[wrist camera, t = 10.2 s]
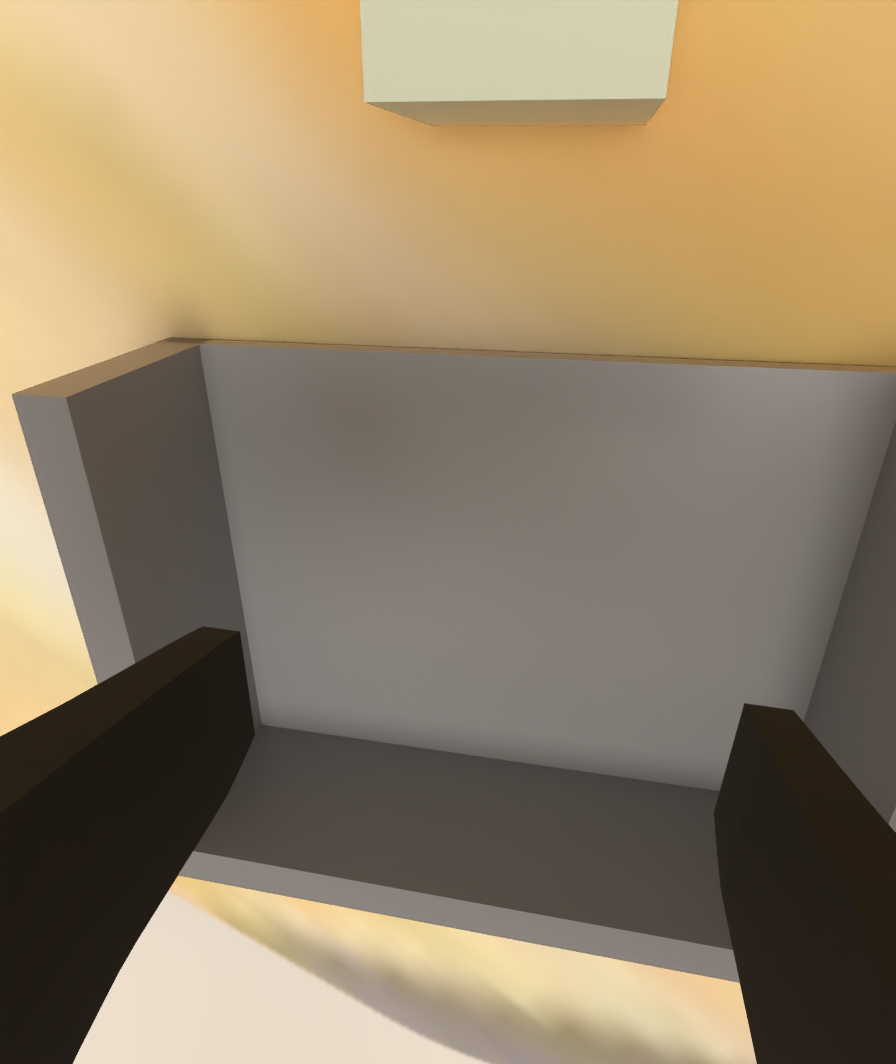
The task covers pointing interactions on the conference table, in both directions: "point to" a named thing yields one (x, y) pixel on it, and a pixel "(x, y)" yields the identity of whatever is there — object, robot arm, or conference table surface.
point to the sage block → (518, 60)
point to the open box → (490, 609)
